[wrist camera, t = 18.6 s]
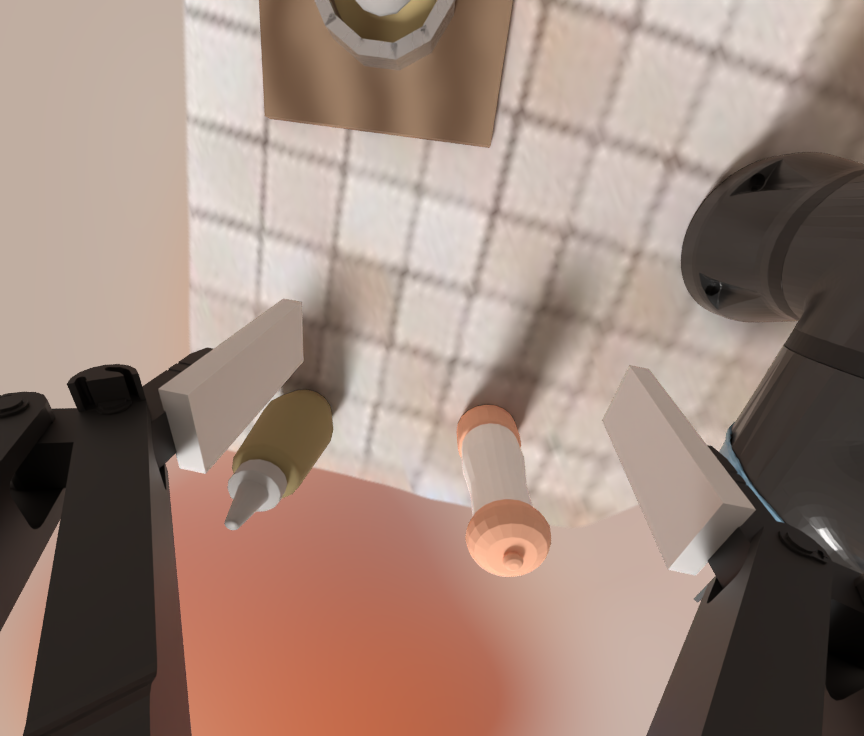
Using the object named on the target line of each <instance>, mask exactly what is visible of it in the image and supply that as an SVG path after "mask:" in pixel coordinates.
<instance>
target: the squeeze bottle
mask: <svg viewBox="0 0 864 736" xmlns="http://www.w3.org/2000/svg"><path fill="white" fill-rule="evenodd" d="M332 433H333V422H332V413H331V408H330V405H329V403H328V402H327V400H326V399H325V398H324V397H323V396H321V395H320V394H318V393H317V392H314V391H310V390H297V391H294V392H291V393H288V394H285V395H282V396H280V397H278V398H276V399H274V400H272V401H271V402H270V403H269V404H268V406H267V407H266V408H265V409H264V411H263V412H262V414H261V416H260V417H259V419H258V420H257V422H256V423H255V425H254V426H253V428H252V430H251V431H250V433H249V434H248V436H247V437H246V439H245V441H244V442H243V444H242V445H241V447H240V448H239V450H238V451H237V453H236V455H235V456H234V459H233V465H232V470H233V472H234V474H233V475H232V477H231V478H230V479H229V481H228V491H229V494H230V496H231V498H232V499H233V502H232V505H231V507H230V510H229V512H228V515H227V517H226V520H225V526H226V527H227V528H229V529H230V530H237V529H238V528H239V527H240V526H241V525H242V524H243V523H245V521H246V520H248V519H249V518H250V517H251V516H252V515H253V514H254V513H255V512H256V511H267V510H270V509H272V508H274V507H275V506H276V505H277V504H278V503H279V502H280V500H281V498H284V497H286V496H289V495H291V494H293V493H294V492H295V490H296V489H297V488H298V487H299V486H300V484H301V483H302V482H303V480H304V479H305V477H306V476H307V474H308V473H309V471H310V470H311V469H312V467H313V466H314V464H315V463H316V461H317V460H318V458H319V457H320V456H321V454H322V453H323V451H324V450H325V448H326V447H327V445H328V444H329V442H330V441H331V437H332Z"/></svg>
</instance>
